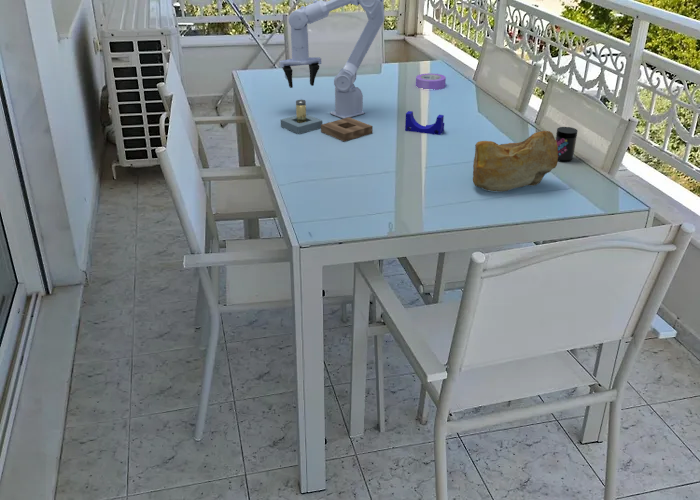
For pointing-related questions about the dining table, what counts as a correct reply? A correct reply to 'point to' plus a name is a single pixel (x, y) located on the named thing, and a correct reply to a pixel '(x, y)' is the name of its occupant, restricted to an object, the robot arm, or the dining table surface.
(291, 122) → the block
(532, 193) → the dining table surface
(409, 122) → the blue cradle block
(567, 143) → the supplement container
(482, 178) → the rough brown rock
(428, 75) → the masking tape
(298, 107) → the spice jar
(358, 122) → the socket block
